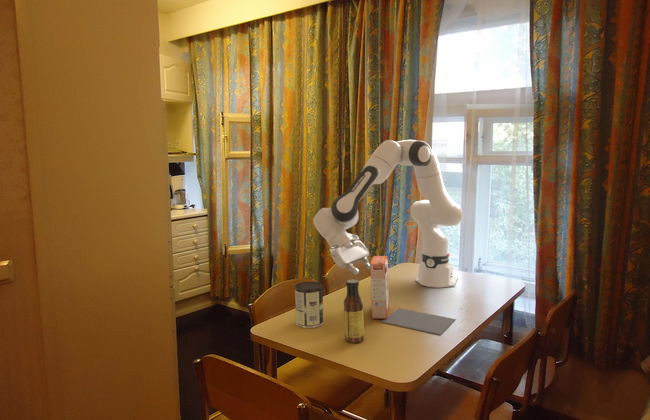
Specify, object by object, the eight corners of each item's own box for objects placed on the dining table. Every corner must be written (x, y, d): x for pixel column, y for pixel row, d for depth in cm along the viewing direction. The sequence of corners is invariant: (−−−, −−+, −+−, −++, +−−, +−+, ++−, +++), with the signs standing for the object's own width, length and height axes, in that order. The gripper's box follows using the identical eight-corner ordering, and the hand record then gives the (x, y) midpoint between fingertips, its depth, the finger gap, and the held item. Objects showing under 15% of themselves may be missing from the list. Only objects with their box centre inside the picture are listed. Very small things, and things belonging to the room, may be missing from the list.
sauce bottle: (367, 339, 142) (367, 280, 140) (356, 345, 138) (355, 285, 135) (352, 334, 147) (351, 277, 144) (340, 340, 142) (339, 281, 139)
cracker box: (388, 319, 158) (385, 263, 156) (371, 319, 159) (369, 263, 157) (390, 307, 171) (388, 255, 169) (374, 306, 173) (372, 255, 170)
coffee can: (310, 315, 164) (309, 279, 162) (329, 322, 157) (328, 285, 155) (289, 323, 157) (288, 285, 155) (308, 330, 150) (307, 291, 148)
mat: (399, 309, 170) (399, 308, 169) (455, 320, 157) (455, 319, 157) (381, 322, 156) (381, 321, 156) (440, 335, 144) (440, 334, 144)
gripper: (332, 243, 162) (355, 271, 157) (359, 234, 178) (380, 260, 174) (322, 253, 165) (344, 282, 160) (349, 244, 181) (370, 269, 177)
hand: (363, 270), depth 167 cm, fingers open, 8 cm apart
